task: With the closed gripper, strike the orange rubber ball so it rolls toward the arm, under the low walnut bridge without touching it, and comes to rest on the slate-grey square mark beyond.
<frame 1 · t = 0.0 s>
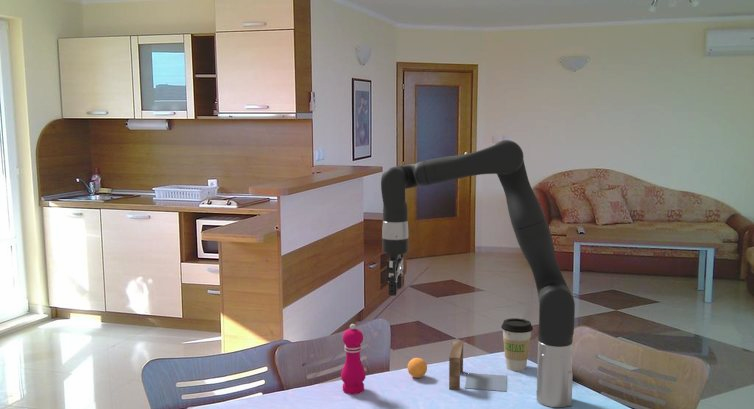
hand: (395, 291, 182), 29 cm above the table, tool pointing down, fingers open, 8 cm apart
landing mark: (486, 382, 190), on the table
ball: (417, 367, 194), on the table
pepper mill: (353, 390, 185), on the table
bridge: (456, 379, 192), on the table
coffee cup: (516, 368, 202), on the table
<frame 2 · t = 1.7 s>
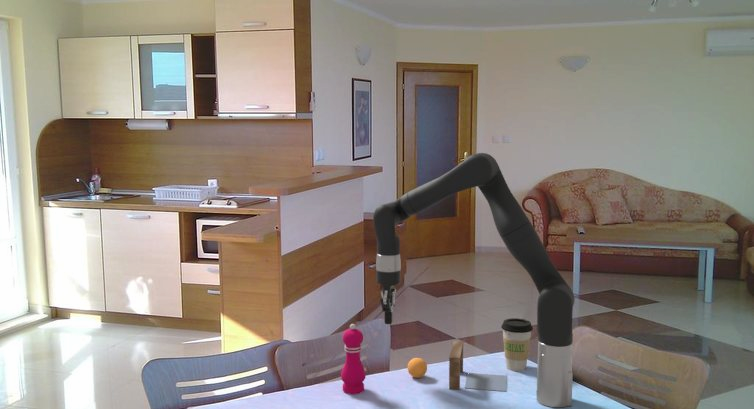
hand: (388, 323, 194), 17 cm above the table, tool pointing down, fingers closed
nothing on the table moved.
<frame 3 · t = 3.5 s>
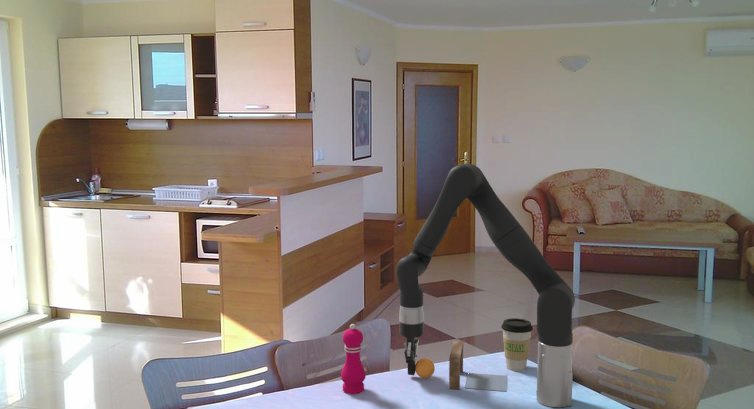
hand: (411, 374, 194), 1 cm above the table, tool pointing down, fingers closed
ball: (424, 368, 194), on the table, touching gripper
everything else where it was.
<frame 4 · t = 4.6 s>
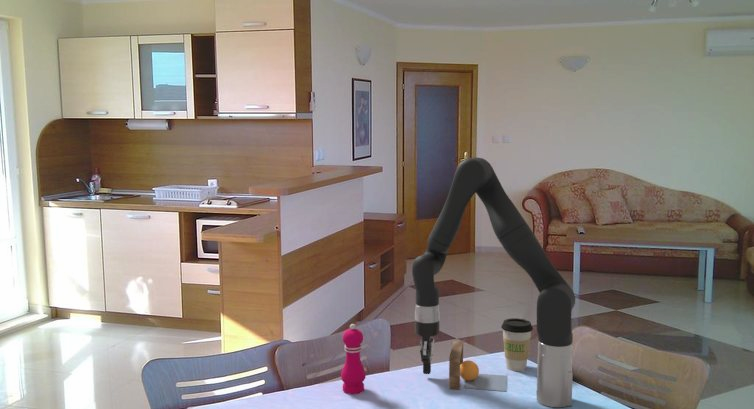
hand: (426, 373, 194), 2 cm above the table, tool pointing down, fingers closed
ball: (468, 370, 192), on the table
everything else where it was.
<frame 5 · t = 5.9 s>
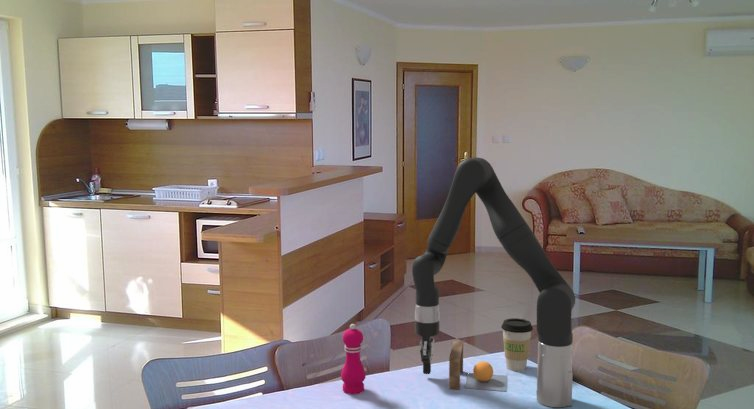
hand: (426, 373, 194), 2 cm above the table, tool pointing down, fingers closed
ball: (483, 371, 191), on the table
everything else where it was.
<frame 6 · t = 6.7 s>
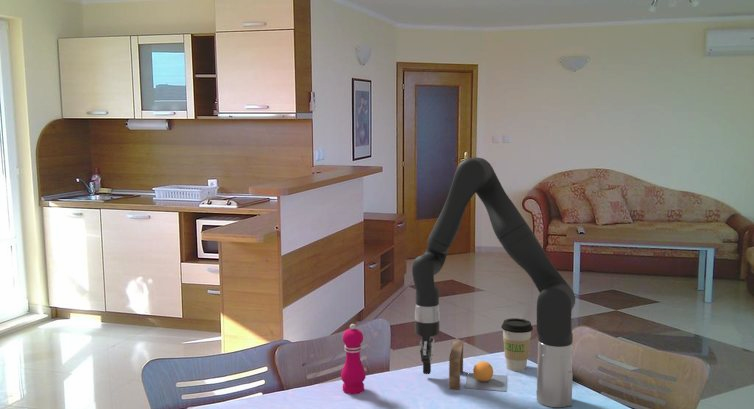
hand: (426, 373, 194), 2 cm above the table, tool pointing down, fingers closed
nothing on the table moved.
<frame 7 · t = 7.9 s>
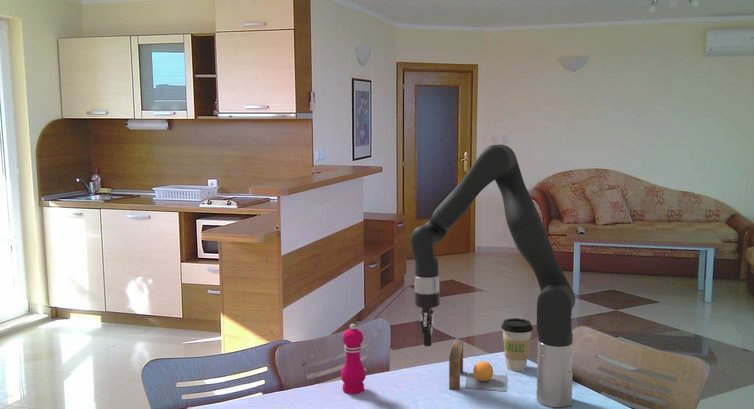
hand: (427, 345, 193), 10 cm above the table, tool pointing down, fingers closed
nothing on the table moved.
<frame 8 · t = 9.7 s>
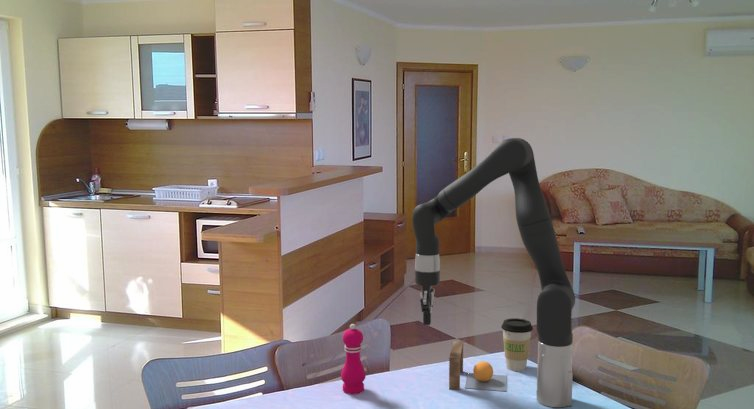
hand: (427, 324, 192), 17 cm above the table, tool pointing down, fingers closed
nothing on the table moved.
at the end: ball 1.3 cm from the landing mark (horizontally); ball never touched bridge; ball at rest at the end (0.0 cm/s) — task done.
